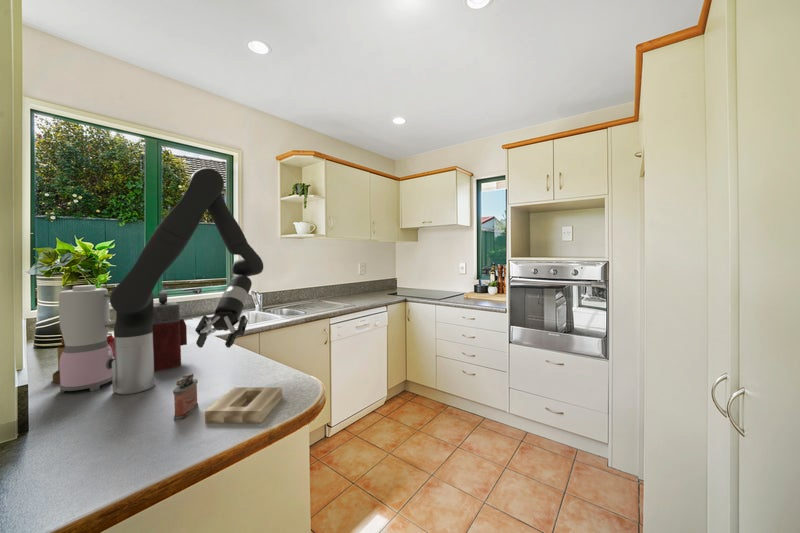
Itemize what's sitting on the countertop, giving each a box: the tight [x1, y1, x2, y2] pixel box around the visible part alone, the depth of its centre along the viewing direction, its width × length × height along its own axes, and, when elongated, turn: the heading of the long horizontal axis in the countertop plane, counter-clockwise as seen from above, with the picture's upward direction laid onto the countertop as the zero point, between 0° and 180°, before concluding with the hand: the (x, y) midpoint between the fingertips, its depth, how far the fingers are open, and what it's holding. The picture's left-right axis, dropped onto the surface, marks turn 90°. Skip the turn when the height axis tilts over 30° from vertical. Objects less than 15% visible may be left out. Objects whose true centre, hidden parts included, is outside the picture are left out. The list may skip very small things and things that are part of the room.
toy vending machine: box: [153, 290, 188, 372], centre depth 121 cm, size 9×11×28 cm
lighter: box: [172, 372, 199, 422], centre depth 85 cm, size 8×3×10 cm, turn 5°
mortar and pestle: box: [52, 327, 65, 383], centre depth 108 cm, size 7×6×18 cm
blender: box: [58, 284, 117, 394], centre depth 102 cm, size 16×12×32 cm
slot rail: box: [204, 386, 283, 424], centre depth 87 cm, size 14×14×3 cm
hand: (213, 346), depth 97 cm, fingers open, 8 cm apart
